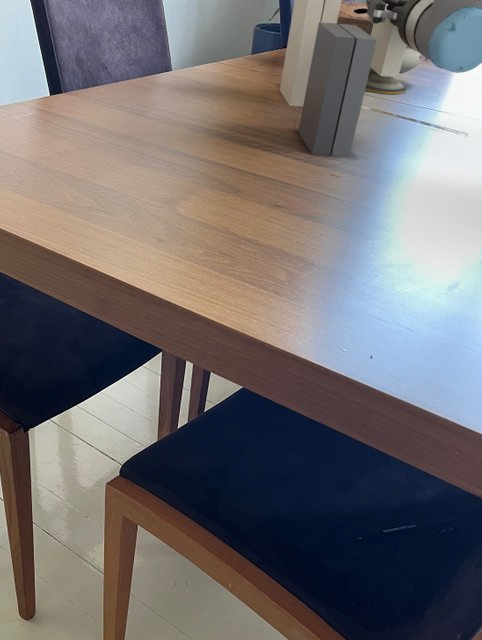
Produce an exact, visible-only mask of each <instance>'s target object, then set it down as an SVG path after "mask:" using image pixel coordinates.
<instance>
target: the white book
mask: <svg viewBox="0 0 482 640" xmlns="http://www.w3.org/2000/svg"><path fill="white" fill-rule="evenodd" d="M397 1H398V0H397ZM371 36H372V37H373V38H375V39H376V40H377V41H376V45H375V50H374V54H373V58H372V62H371V68H372V69H373V70H374V71H375V72H377V73H378V74H379V75H380V76H386V77H393V78H399V75H400V74H399V72H400V68H401V64H402V60H403V57H404V53H405V49H406V44H405V43H404V42H403V41H402V40H401V38H400V35H399V32H398V27H397V26H395V25H393V24H392V23H391V22H390V19H387V18H385V21H384V23H383V22H380V23H377V24H375V23H373V28H372V32H371Z"/></svg>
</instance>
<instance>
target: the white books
mask: <svg viewBox="0 0 482 640" xmlns="http://www.w3.org/2000/svg"><path fill="white" fill-rule="evenodd" d="M341 1H342V0H294V1H293V2H294V3H293V9H292V14H291V21H290V26H289V32H288V38H287V44H286V45H287V46H286V50H285V56H284V57H285V58H284V64H283V69H282V74H281V80H280V86H279V92H280V94H281V95H282V96H283V98H284V100H285V101H286V103H287V105H288V106H289V107H296V108H297V107H298V108H303V104H304V99H305V93H306V88H307V83H308V78H309V72H310V67H311V62H312V56H313V51H314V46H315V40H316V35H317V30H318V24H319V22H321V23H334V24H337V20H338V15H339V10H340V5H341Z"/></svg>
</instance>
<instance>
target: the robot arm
mask: <svg viewBox="0 0 482 640" xmlns="http://www.w3.org/2000/svg"><path fill="white" fill-rule="evenodd" d="M367 14H368V15H369V16H370V17H371V18H372V22H374V23H375V24H377V23H380V22H383V23H384V21H385V18H387V19H390V22H391V23H392V24H393V25H395V26H397V27H398V32H399V35H400V38H401V40H402V41H403V42H404V43H405V44H406V45H407V46H409V47H410V48H412V49H413V50H415V51H417V52H419V53H420V54H421V56H423V57H424V58H425V59H424V60H425V61H426V62H429V63H430V62H431V63H432V64H433V65H434V66H435V67H437V68H438V69H441V70H442V69H443V70H445V71H448V72H451V73H455V74H461V73H467V72H469V71H472V70H473V69H475V68H477V67H479V66H480V65H481V64H482V0H398V1H397V0H370V2H369V6H368V11H367Z"/></svg>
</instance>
